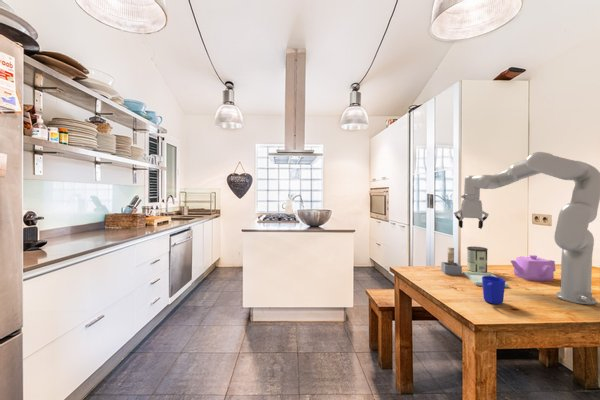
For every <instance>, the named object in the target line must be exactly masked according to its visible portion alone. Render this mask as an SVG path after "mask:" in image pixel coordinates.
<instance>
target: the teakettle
mask: <svg viewBox="0 0 600 400" xmlns="http://www.w3.org/2000/svg"><path fill="white" fill-rule="evenodd" d="M510 263H511V265H512V266H513V273H514V276H516V277H518V278H521V279H523V280H525V279H526V281H532V280H534V281H535V282H552V281H553V280H554V277H555V272H556V261H555V260H552V259H545V258H541V257H538V255H535V254H530V255H529V256H517V257H516V258H515V260H514V259H513V260H512V259H511V260H510ZM534 281H533V282H534Z"/></svg>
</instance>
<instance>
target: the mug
mask: <svg viewBox="0 0 600 400" xmlns="http://www.w3.org/2000/svg"><path fill="white" fill-rule="evenodd" d="M505 282H506V279H504V277H503V278H502V277H498V276H496V277H494V276H483V277H482V284H483V286H482V294H483V301H485V302H487V303H489V304H493V305H500V304H501V305H502V304H503V302H504V296H505Z"/></svg>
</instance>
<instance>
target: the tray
mask: <svg viewBox="0 0 600 400" xmlns="http://www.w3.org/2000/svg"><path fill="white" fill-rule="evenodd" d="M462 275H464V276H465V277H466V278H467V279H469V280H470V281H471V282H473V284H474V285H475V286H477V287H483V284H482V277H483V276H494V277H497V276H496V275H495V274H493V273H491V272H487V273H480V272H471V271H462ZM505 288H506V289H508V288H509V283H507V282H506V281H505Z"/></svg>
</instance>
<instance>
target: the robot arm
mask: <svg viewBox="0 0 600 400" xmlns="http://www.w3.org/2000/svg"><path fill="white" fill-rule="evenodd" d="M540 174H544V175H546V176H550V177H554V178H556V179H560V180H562V181H563V180H564V181H573V182H574V187H573V189H572V195H571V200H570V203H569V202H568V203H567V204H565V205H564V206H563V207H561V209H560V210H559V213H558V217H557V222H556V226H555V231H554V242H555V244H556V245H557V246H558V247H559V248H560V249H562V250H561V261H560V267H561V268H560V291H558V292H556V293H555V296H556V297H557V298H559V299H560V300H563V301H566V302H570V303H573V304H574V303H575V304H579V305H596V304H597V300H596V298H594V297H593V292H592V274H593V273H592V270H593V269H592V267H593V251H594V245H595V239H594V236H593V233H592V232H591V231H590V230H589V229H588V228H589V224H590V223H593V222H594V221H595V220H596V218H597V216H598V211H599V210H598V209H599V206H600V205H599V204H600V171H599V169H597V168H596V167H595V166H593V165H591V164H589V163H587V162H583V161H581V160H580V161H579V160H574V159H569V158H566V157H565V158H564V157H561V156H559V155H558V156H557V155H554V154H552V153H550V152H545V151H536V152H533V153H531V154H530V155H528V157H527V158H525V159H523V160H520V161H517V162H515V163H512V164H511V165H510V167H509V168H508V169H506V170H504V171H502V172H499V173H495V174H493V175H492V174H481V175H466V176H465V177H464V184H463V185H464V191H463V193H464V194H463V195H461V196H460V198H462V201H461V206H460V209H459V210H457V211H455V212H453V214H454V216H455V218H456V219H457V220H458V227H459V228H461V229H462V228H463V227H464V225H463V224H464V221H463V220H464V218H465V219H466V218H467V219H478V228H479V229H480V230H481V229H482V228H483V226H484V221H486V220H487V218H488V217H489V216H490V215H489V213H487V212H486V211H484V210H483V203H482V200H480V197H481V196H480V195H481V194H480V192H481V189H482V190H483V189H484V190H495V189H499V188H502V187H505V186H509V185H511V184H513V183H516V182H519V181H521V180H523V179H527V178H530V177H532V176H533V177H534V176H536V175H540ZM459 214H460V216H459ZM483 215H484V216H483Z"/></svg>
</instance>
